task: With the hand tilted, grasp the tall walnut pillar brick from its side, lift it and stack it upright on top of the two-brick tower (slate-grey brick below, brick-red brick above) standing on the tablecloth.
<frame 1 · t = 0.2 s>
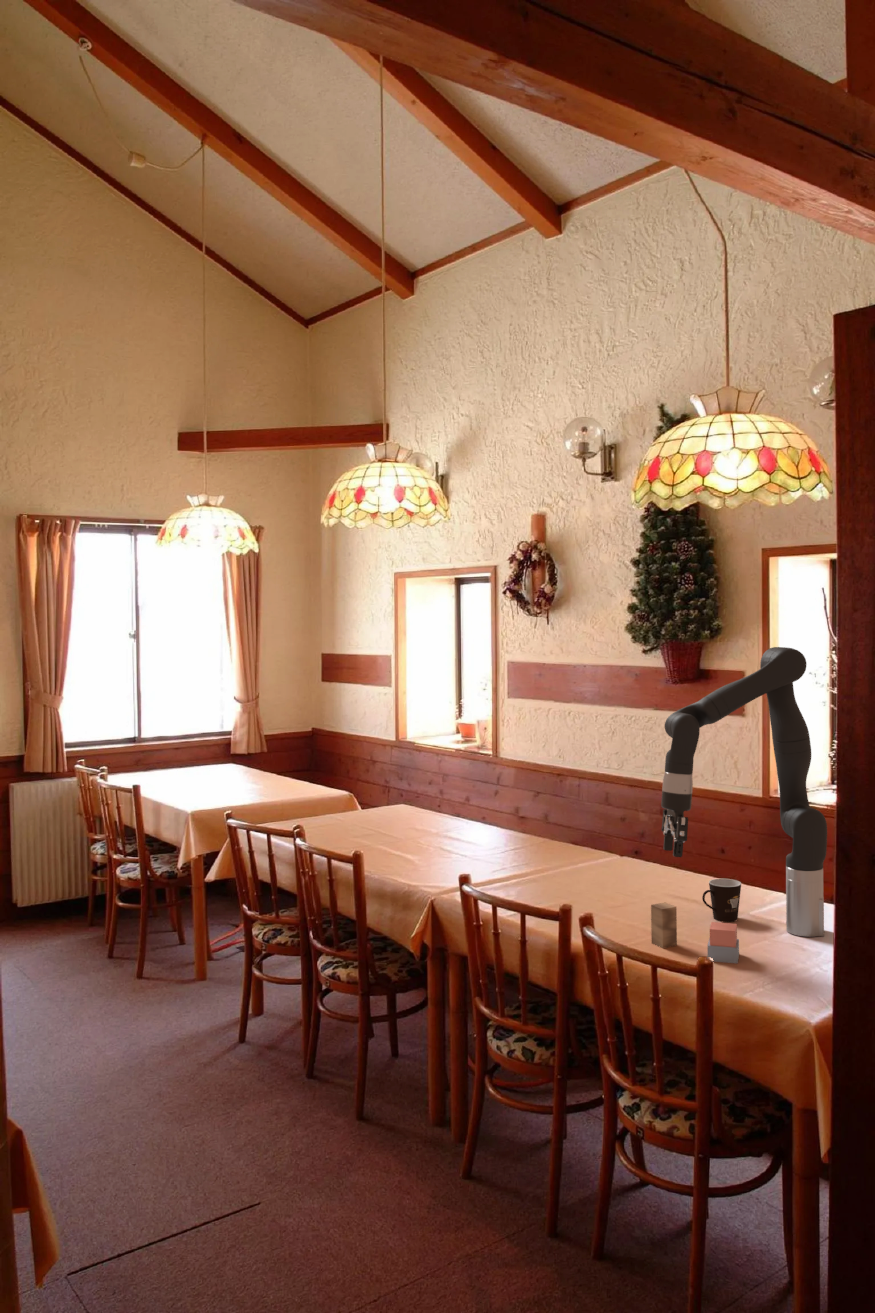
hand: (672, 853, 260), 23 cm above the table, tool pointing down, fingers open, 8 cm apart
tower bottom brick: (723, 958, 248), on the table, touching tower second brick
pillar brick: (664, 944, 259), on the table
coffee mug: (719, 919, 279), on the table
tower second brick: (723, 942, 248), point 4 cm above the table, touching tower bottom brick
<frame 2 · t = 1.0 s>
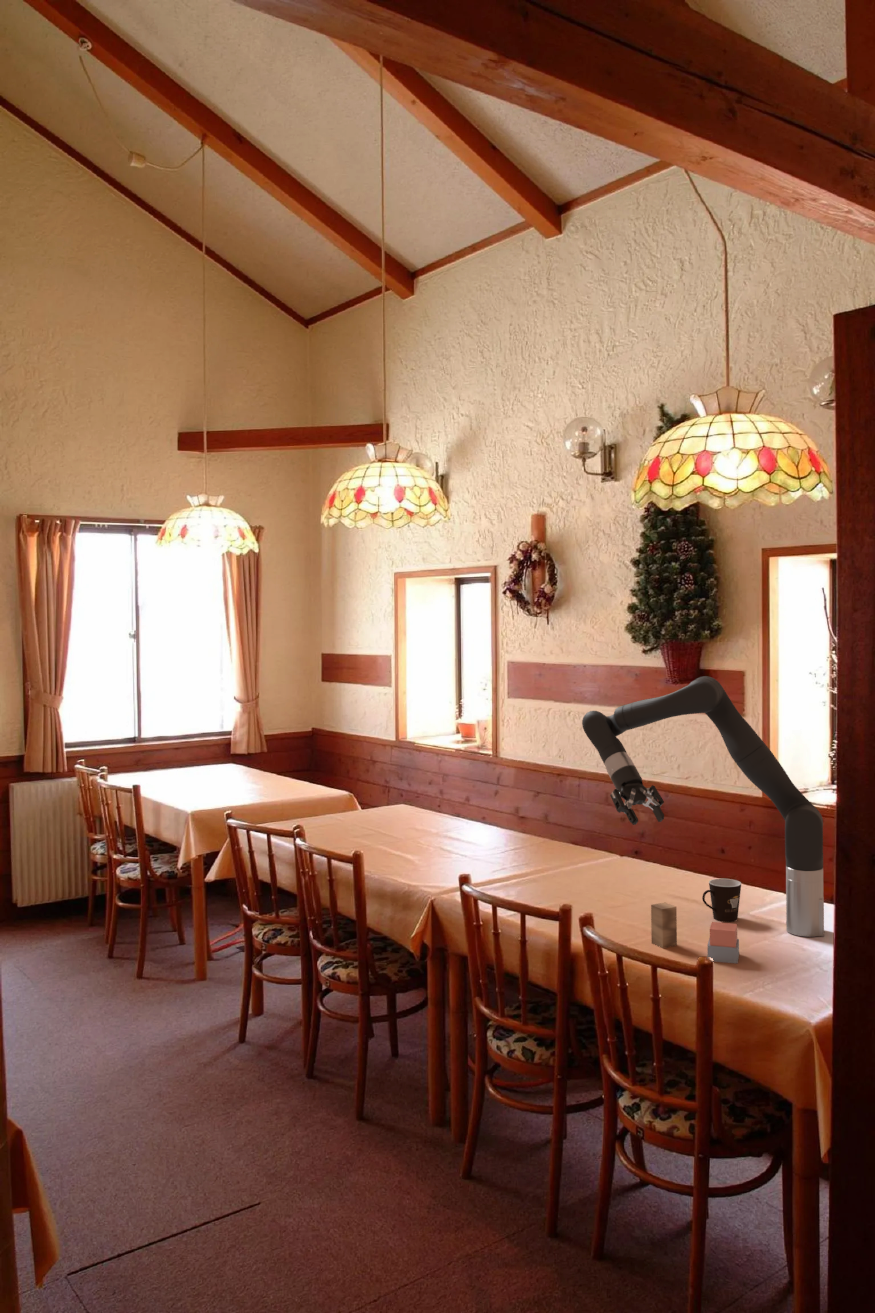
hand: (648, 821, 269), 29 cm above the table, tool tilted 45°, fingers open, 8 cm apart
nothing on the table moved.
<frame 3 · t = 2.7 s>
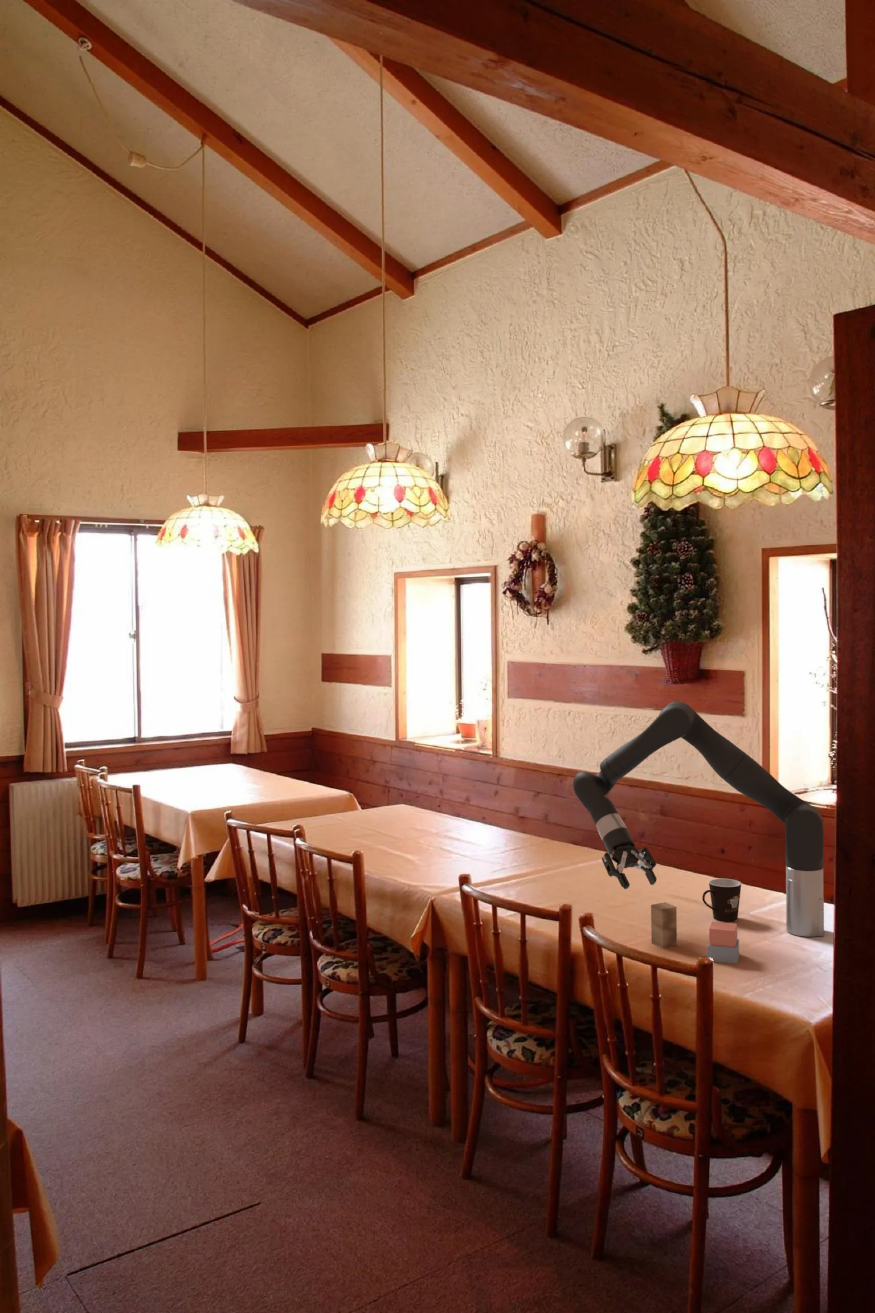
hand: (640, 885, 267), 13 cm above the table, tool tilted 45°, fingers open, 8 cm apart
tower bottom brick: (723, 958, 248), on the table
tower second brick: (723, 942, 248), point 4 cm above the table
everything else where it was.
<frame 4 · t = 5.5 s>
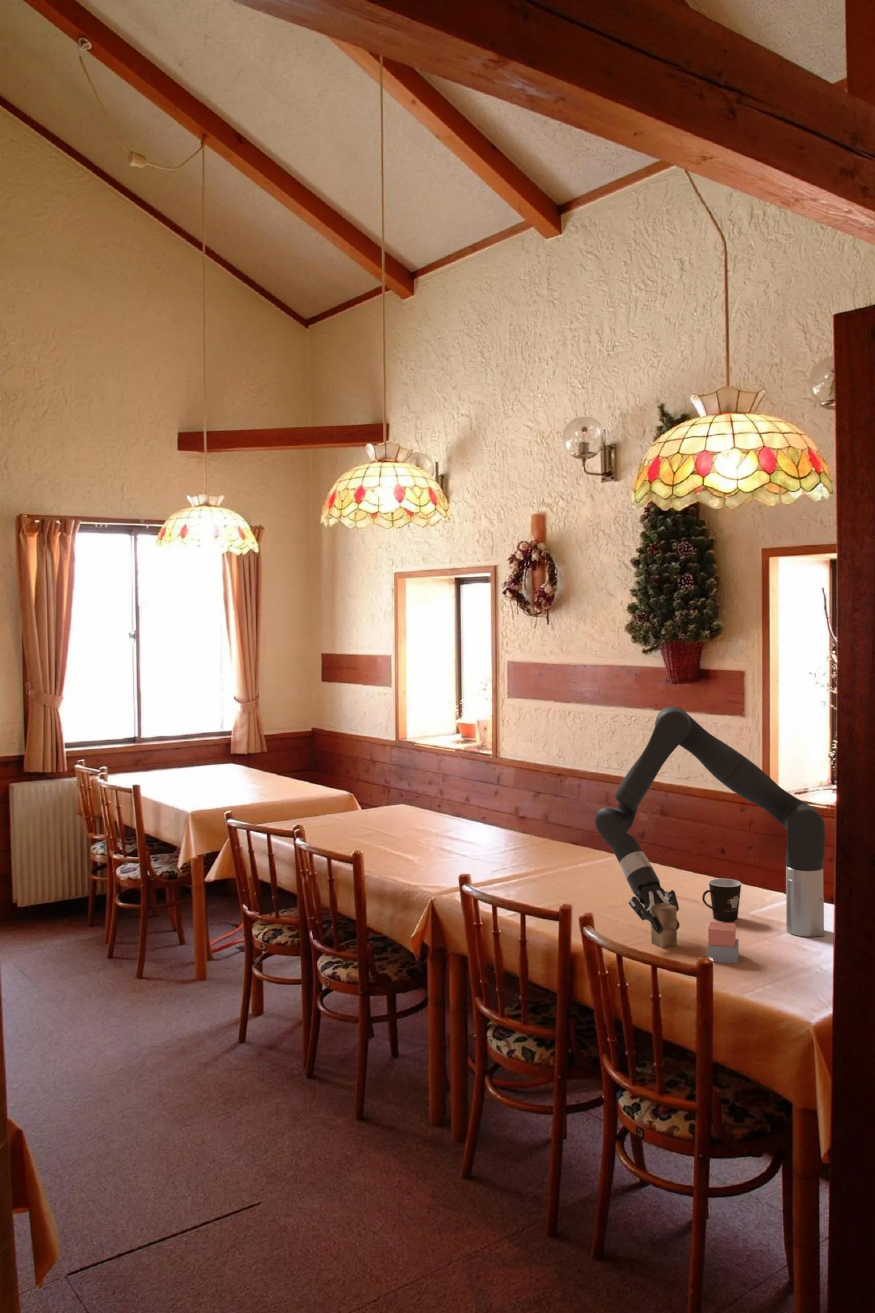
hand: (668, 930, 257), 4 cm above the table, tool tilted 45°, fingers closed on pillar brick, 4 cm apart
tower bottom brick: (723, 958, 248), on the table, touching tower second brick
pillar brick: (664, 944, 259), on the table, touching gripper
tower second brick: (722, 942, 248), point 4 cm above the table, touching tower bottom brick
everything else where it was.
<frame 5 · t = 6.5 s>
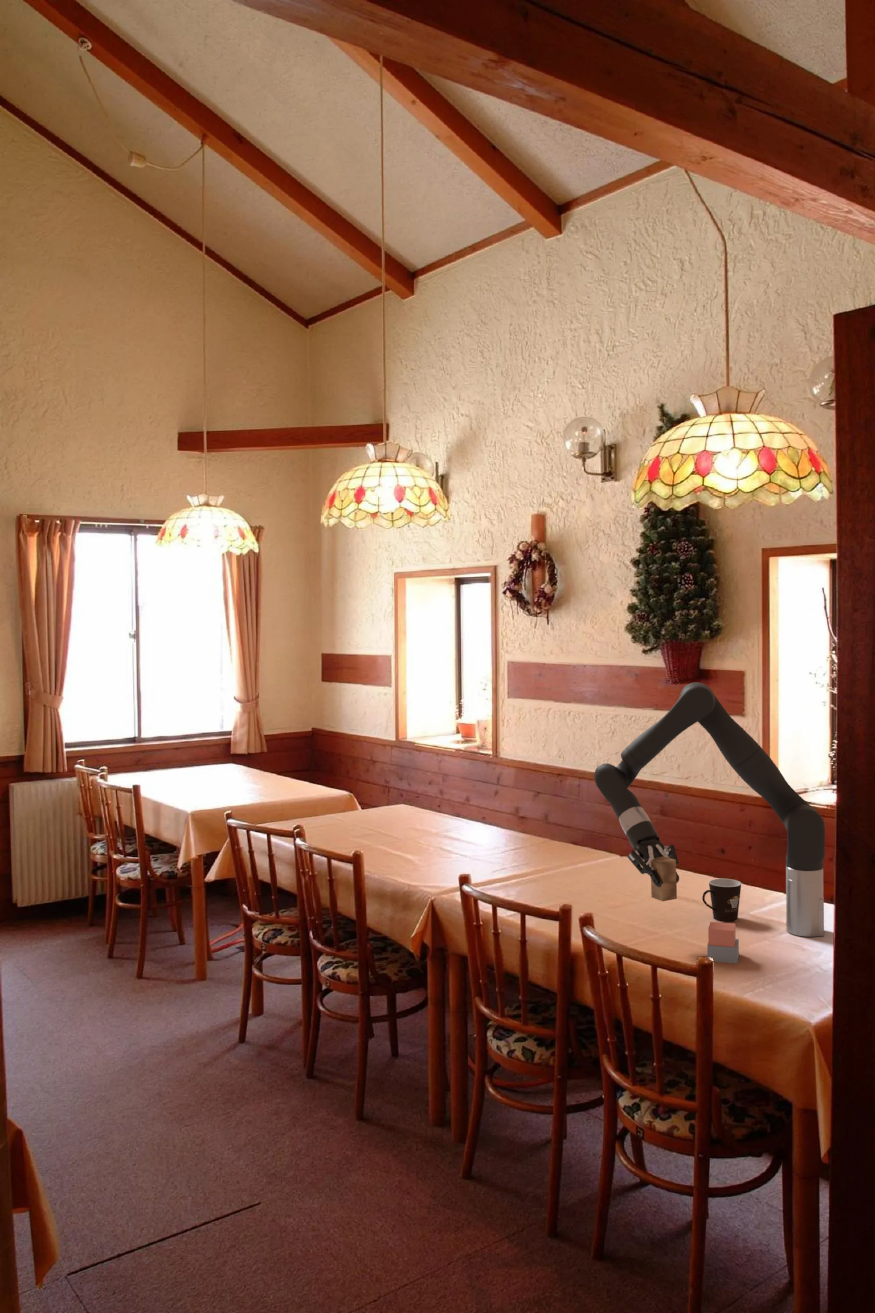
hand: (668, 883, 257), 16 cm above the table, tool tilted 45°, fingers closed on pillar brick, 4 cm apart
pillar brick: (664, 898, 259), point 12 cm above the table, touching gripper
everything else where it was.
when the fingers open (13 cm above the table, at t = 10.0 s): pillar brick drops 1 cm, resting on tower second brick.
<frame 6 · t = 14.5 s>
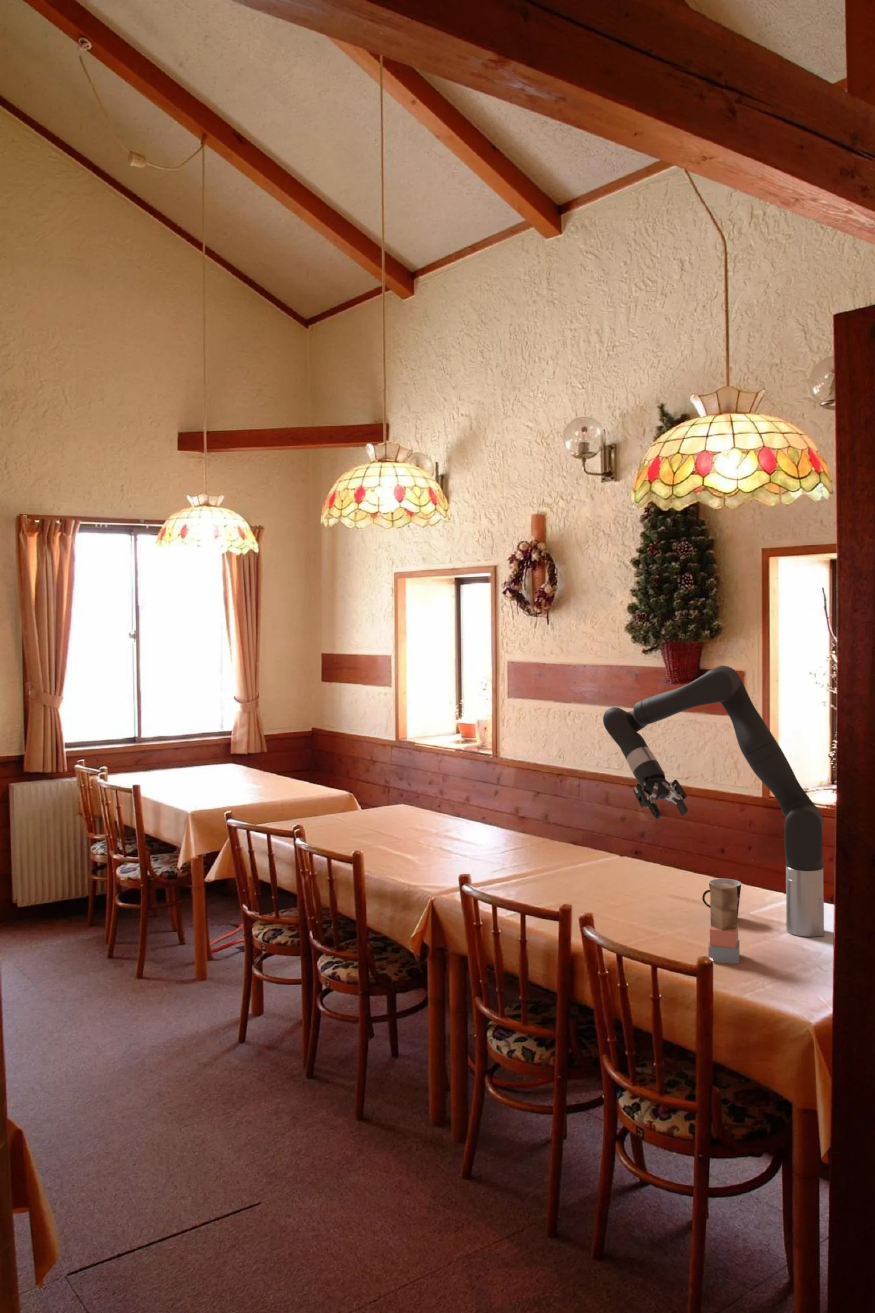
hand: (672, 815, 270), 31 cm above the table, tool tilted 45°, fingers open, 8 cm apart
pillar brick: (723, 926, 248), point 8 cm above the table, touching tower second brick
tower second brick: (724, 943, 248), point 4 cm above the table, touching pillar brick, tower bottom brick
everything else where it was.
at the end: pillar brick 0.1 cm off-centre on the tower bottom brick, point 8.0 cm above the tower bottom brick's base; pillar brick tilted 1°; the gripper is holding nothing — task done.
